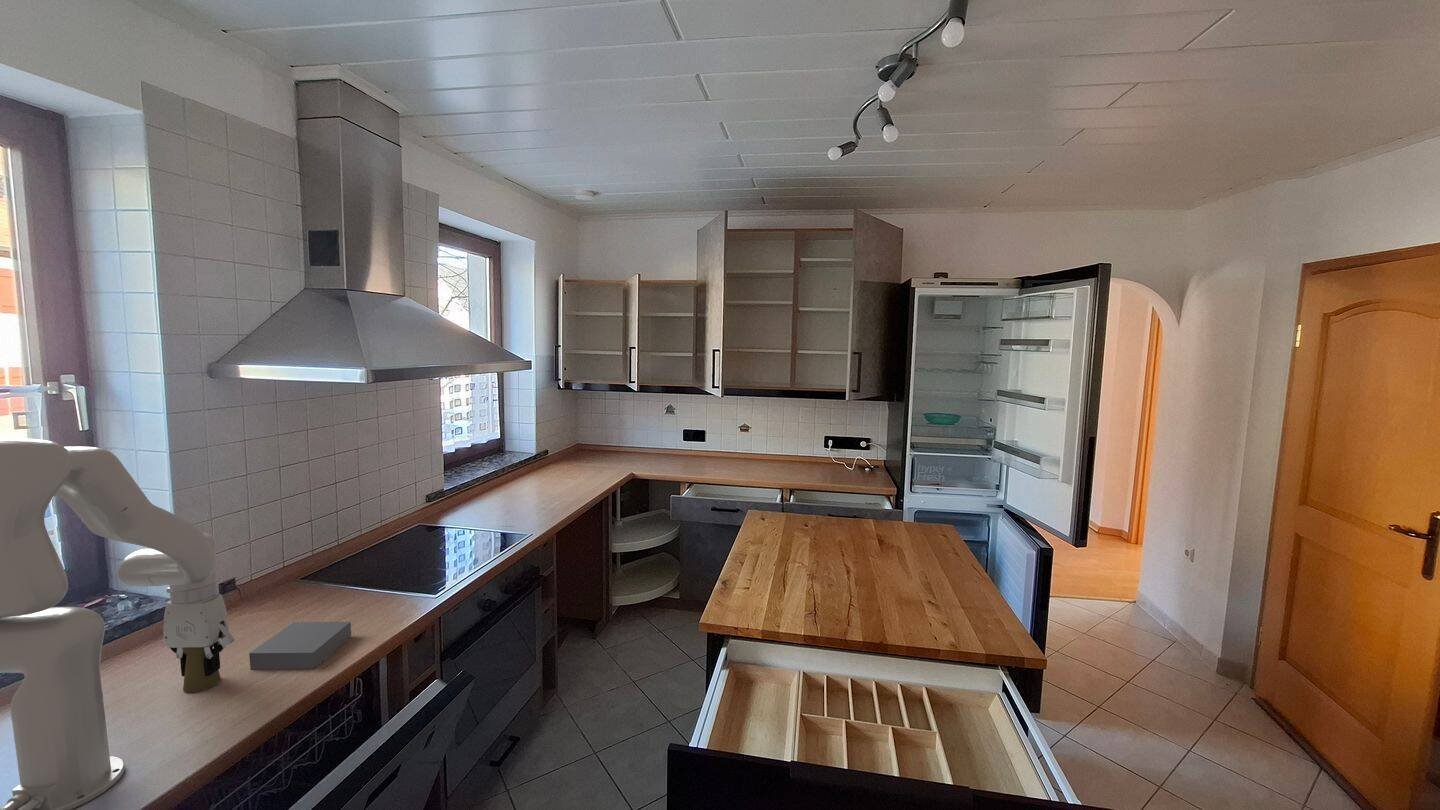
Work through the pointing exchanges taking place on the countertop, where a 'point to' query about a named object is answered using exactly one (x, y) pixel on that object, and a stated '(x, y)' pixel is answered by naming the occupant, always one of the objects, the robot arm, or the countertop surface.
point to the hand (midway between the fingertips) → (201, 671)
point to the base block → (300, 645)
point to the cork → (197, 671)
